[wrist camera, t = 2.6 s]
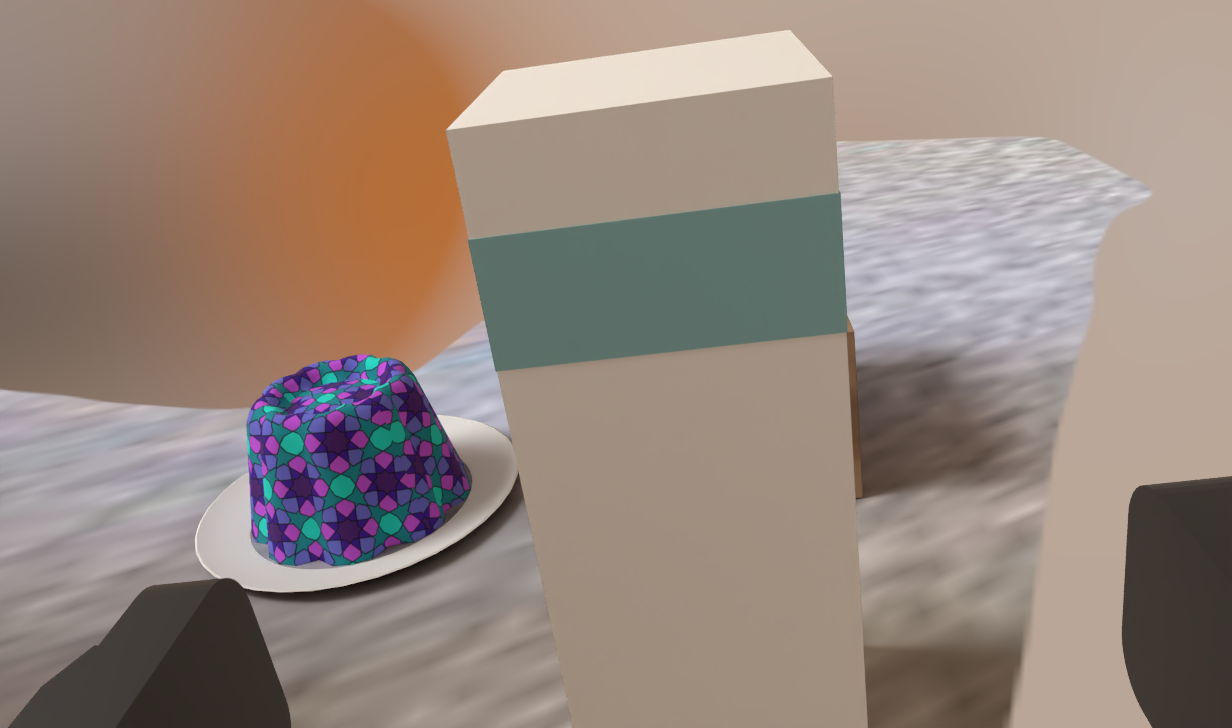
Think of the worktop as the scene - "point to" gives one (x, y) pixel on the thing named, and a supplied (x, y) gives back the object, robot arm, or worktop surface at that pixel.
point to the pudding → (350, 479)
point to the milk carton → (677, 376)
